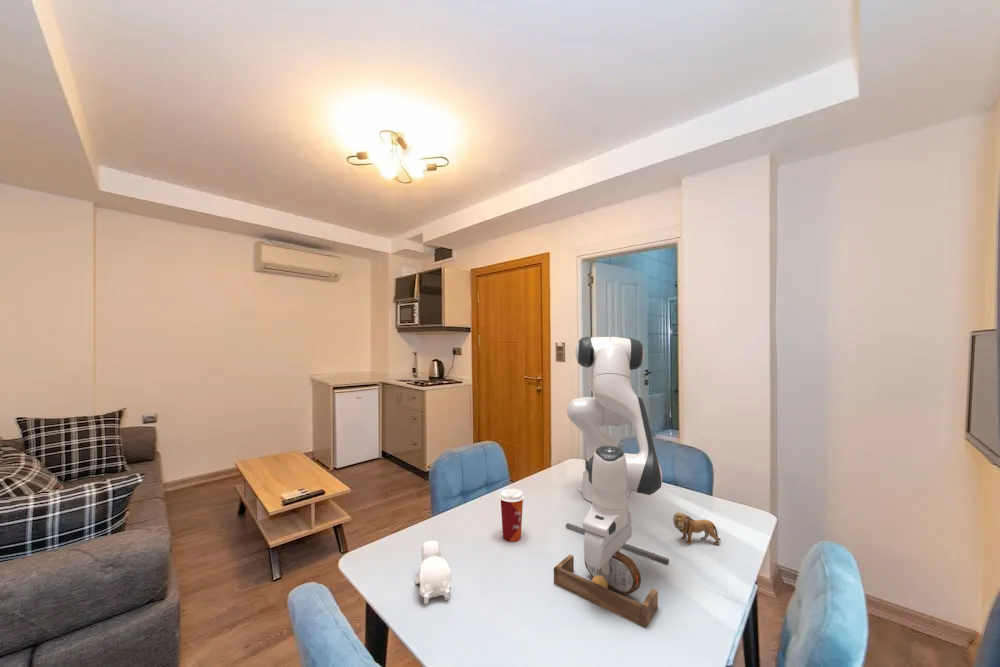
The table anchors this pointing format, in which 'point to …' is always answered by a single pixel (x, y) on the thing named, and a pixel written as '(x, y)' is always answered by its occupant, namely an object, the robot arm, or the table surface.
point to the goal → (605, 594)
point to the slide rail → (627, 547)
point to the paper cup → (511, 514)
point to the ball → (600, 581)
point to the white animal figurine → (433, 573)
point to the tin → (620, 574)
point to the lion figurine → (694, 527)
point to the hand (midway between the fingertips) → (610, 568)
